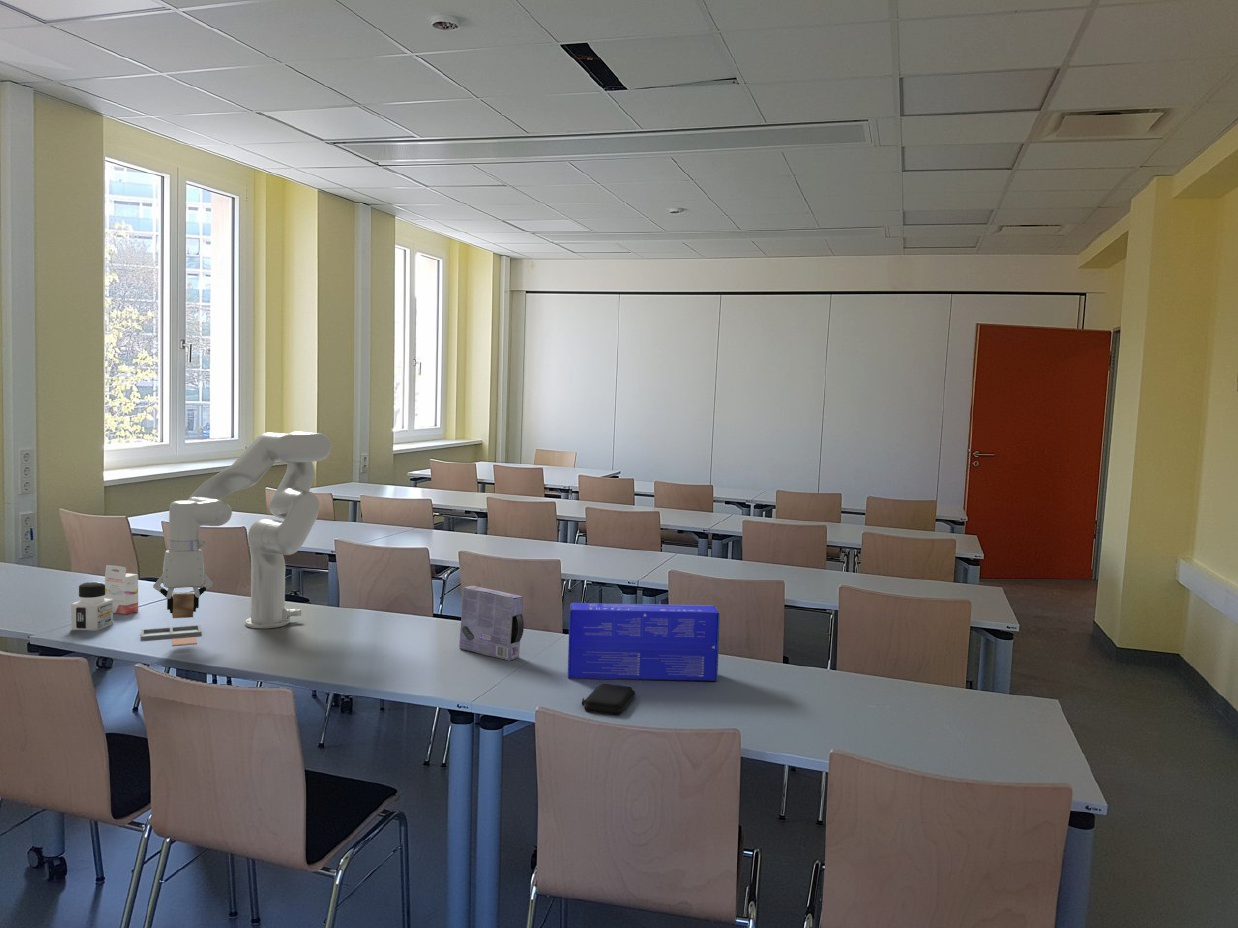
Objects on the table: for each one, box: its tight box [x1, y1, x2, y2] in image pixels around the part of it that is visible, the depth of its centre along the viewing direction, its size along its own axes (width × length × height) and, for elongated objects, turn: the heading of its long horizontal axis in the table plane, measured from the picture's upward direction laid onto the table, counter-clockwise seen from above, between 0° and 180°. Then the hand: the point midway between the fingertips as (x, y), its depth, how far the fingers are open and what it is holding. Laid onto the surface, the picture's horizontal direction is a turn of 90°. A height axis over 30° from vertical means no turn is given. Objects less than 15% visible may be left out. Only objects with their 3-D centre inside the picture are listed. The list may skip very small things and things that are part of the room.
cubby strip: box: [140, 624, 202, 641], centre depth 249 cm, size 15×8×1 cm, turn 118°
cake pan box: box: [458, 585, 525, 662], centre depth 243 cm, size 19×5×18 cm, turn 59°
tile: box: [171, 636, 198, 647], centre depth 242 cm, size 6×6×1 cm
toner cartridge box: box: [567, 602, 721, 682], centre depth 229 cm, size 39×8×18 cm, turn 92°
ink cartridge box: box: [104, 564, 139, 615], centre depth 271 cm, size 9×5×15 cm, turn 73°
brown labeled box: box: [171, 591, 194, 619], centre depth 240 cm, size 5×5×6 cm
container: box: [70, 581, 114, 631], centre depth 253 cm, size 8×8×13 cm
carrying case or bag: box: [581, 683, 636, 716], centre depth 208 cm, size 11×3×15 cm
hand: (182, 610), depth 241 cm, fingers closed on brown labeled box, 5 cm apart
